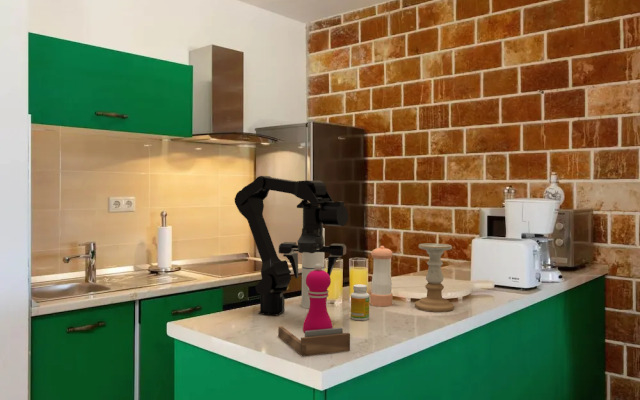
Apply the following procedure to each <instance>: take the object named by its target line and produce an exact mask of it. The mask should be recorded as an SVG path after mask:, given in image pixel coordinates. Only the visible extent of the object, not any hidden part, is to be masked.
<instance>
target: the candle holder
mask: <svg viewBox="0 0 640 400" xmlns="http://www.w3.org/2000/svg"><path fill="white" fill-rule="evenodd" d="M418 248H419V249H421V250H424V251H426V253H427V254H428V256H429V257H428V258H429V259H428V261H427V262H426V264H427V265H428V270H427V272H426V276H425V280H426V282H427V283H426V284H425V285H424V287H425V289H426V290H427V292H426V296H424V297H421V298H420V299H419V300H417V301H415V302H414V308H416V309H417V310H421V311H422V312H424V311H425V312H433V313H447V312H451V311H453V310H454V309H455V305H454V303H452V302H450V301H449V299H447V298H443V292H442V291H443V290H444V288H445V286H444V285H443V283H442V282H443V281H444V275H443V272H442V266H443V265H444V263H443V262H442V260H441V257H442V255H443V254H444V252H445V251H450V250H452V249H453V246H452V245H451V244H448V243H447V244H446V243H433V242H432V243H431V242H429V243H419V244H418Z"/></svg>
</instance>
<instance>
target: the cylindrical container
mask: <svg viewBox="0 0 640 400" xmlns="http://www.w3.org/2000/svg"><path fill="white" fill-rule="evenodd" d="M325 234H326V231H325V228H324V227H323V239H324V245H323V246H326V245H325ZM316 264H321V265H322V269H321V270H323V271H325V252H315V253H307V252H303V253H301V308H304V309H308V310H309V307H310V297H309V296H308V290H309V288H308V286H307V285H306V277H307V275H308V274H309V273H310V272H311V271H314V270H315V265H316Z"/></svg>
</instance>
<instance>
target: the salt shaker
mask: <svg viewBox="0 0 640 400" xmlns="http://www.w3.org/2000/svg"><path fill="white" fill-rule="evenodd" d="M370 255H371V257H372V259H373V267H372V268H373V271H372V272H373V273H372V278H371V292H370V294H369V305H371V306H375V307H391V306H393V300H394V299H393V295H394V294H393V293H392V286H393V283H392V277H391V276H392V275H391V259H392V258H393V255H394V254H393V251H392V250H391V249H389V248H386V247H385V246H384V245H380V246H379V248H378V247H377V248H375V249H372V251H371V253H370Z"/></svg>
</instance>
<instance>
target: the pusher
mask: <svg viewBox="0 0 640 400" xmlns="http://www.w3.org/2000/svg"><path fill="white" fill-rule="evenodd" d="M343 330H344V328H343V327H333V328H330V329H320V330H309V331H305V333H304V337H311V336H321V335H331V334H340V333H344V332H343Z"/></svg>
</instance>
